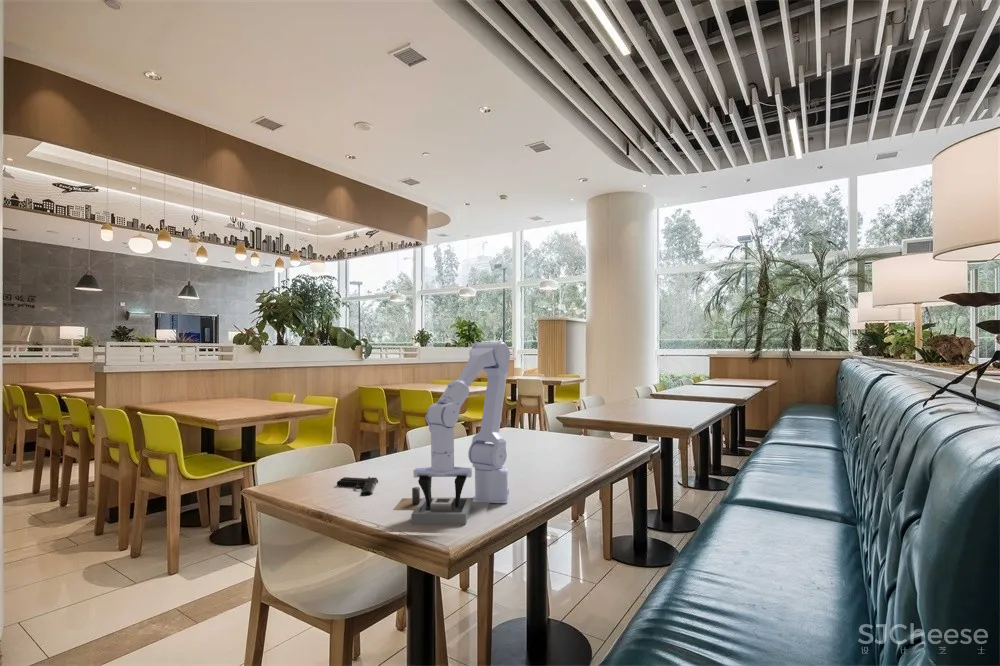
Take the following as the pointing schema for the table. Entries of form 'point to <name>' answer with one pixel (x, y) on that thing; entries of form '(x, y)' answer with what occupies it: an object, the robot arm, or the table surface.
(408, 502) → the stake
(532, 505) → the table surface
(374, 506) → the table surface
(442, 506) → the collar
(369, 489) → the handgun
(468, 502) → the tray
